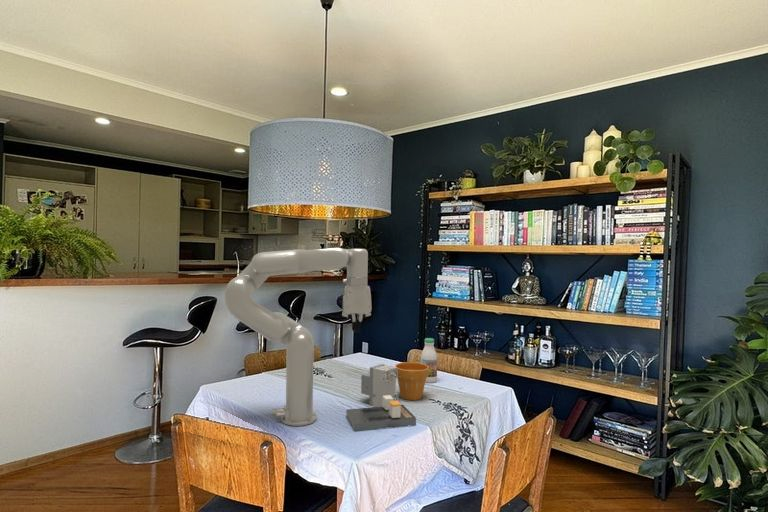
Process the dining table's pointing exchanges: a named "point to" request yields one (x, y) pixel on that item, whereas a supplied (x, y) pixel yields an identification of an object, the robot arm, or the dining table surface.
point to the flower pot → (412, 379)
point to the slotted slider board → (378, 418)
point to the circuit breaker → (379, 383)
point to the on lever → (386, 401)
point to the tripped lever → (394, 409)
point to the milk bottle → (430, 360)
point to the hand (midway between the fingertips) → (356, 332)
